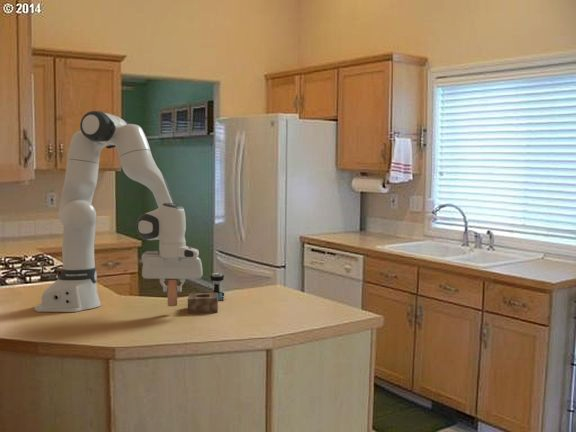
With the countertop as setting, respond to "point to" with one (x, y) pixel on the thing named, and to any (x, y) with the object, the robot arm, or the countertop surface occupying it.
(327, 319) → the countertop surface
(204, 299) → the socket block
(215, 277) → the push button
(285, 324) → the countertop surface
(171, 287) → the dowel
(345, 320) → the countertop surface
